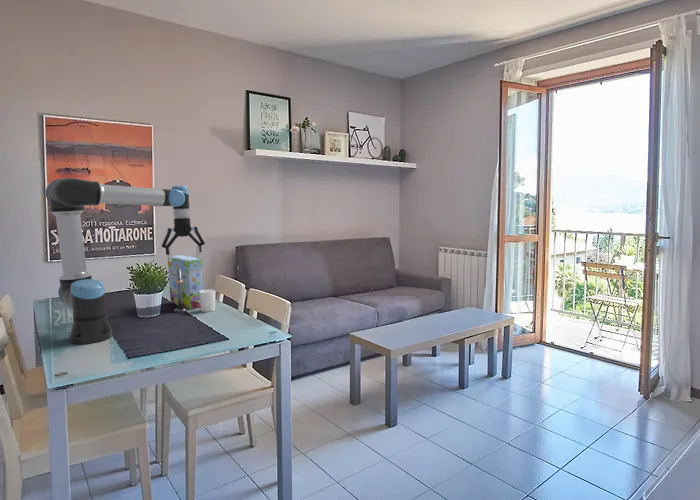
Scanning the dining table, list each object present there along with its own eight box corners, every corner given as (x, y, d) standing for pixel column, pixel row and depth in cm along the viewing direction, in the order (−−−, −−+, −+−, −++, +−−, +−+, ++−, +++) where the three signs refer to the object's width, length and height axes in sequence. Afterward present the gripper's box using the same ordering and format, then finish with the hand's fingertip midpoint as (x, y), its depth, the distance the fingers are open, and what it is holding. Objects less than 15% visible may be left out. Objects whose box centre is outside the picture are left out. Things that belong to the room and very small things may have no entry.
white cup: (219, 309, 230) (218, 290, 228) (207, 313, 223) (206, 293, 222) (208, 307, 234) (208, 288, 233) (196, 311, 227) (195, 291, 226)
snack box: (168, 303, 244) (166, 256, 241) (183, 300, 250) (181, 254, 247) (190, 309, 230) (187, 259, 227) (205, 306, 236) (203, 258, 233)
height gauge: (188, 311, 226) (186, 270, 224) (175, 313, 223) (173, 271, 221) (185, 309, 231) (183, 268, 229) (173, 310, 228) (171, 269, 226)
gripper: (205, 216, 231) (207, 257, 234) (153, 218, 218) (156, 261, 221) (209, 216, 225) (211, 258, 228) (156, 218, 212) (159, 263, 215)
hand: (184, 260), depth 224 cm, fingers open, 13 cm apart
